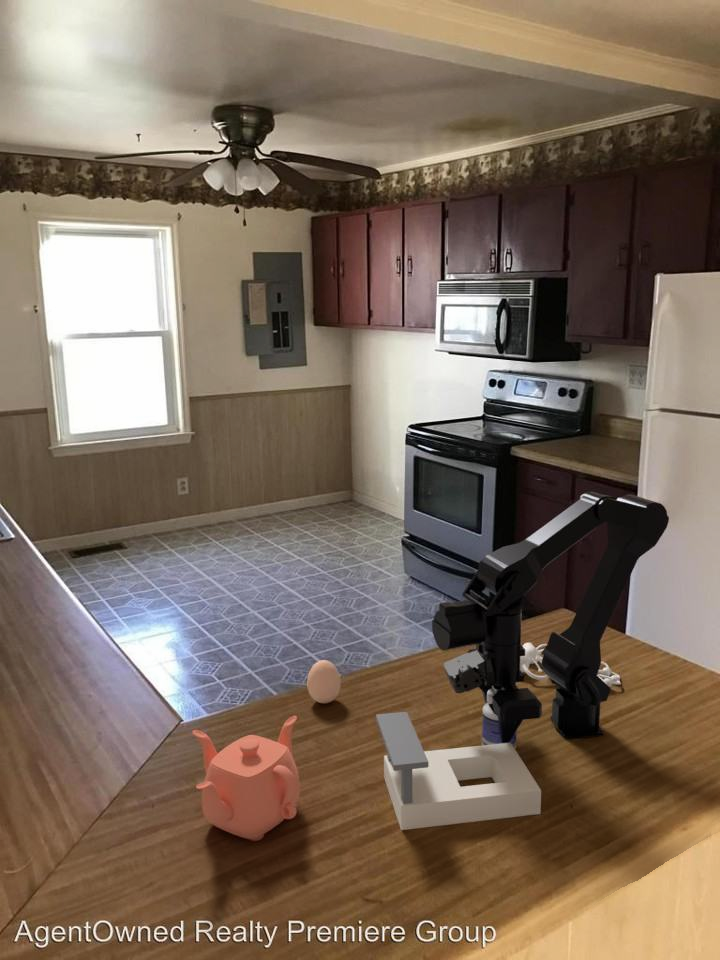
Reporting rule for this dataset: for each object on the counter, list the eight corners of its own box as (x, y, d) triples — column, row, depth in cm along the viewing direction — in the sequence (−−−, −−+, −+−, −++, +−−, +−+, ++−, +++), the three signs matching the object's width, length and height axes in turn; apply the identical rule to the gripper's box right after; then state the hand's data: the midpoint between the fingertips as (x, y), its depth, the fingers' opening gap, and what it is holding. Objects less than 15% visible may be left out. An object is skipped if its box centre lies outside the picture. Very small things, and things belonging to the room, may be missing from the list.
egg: (330, 713, 133) (329, 671, 131) (301, 705, 135) (299, 664, 134) (347, 698, 137) (346, 657, 136) (318, 691, 140) (317, 651, 139)
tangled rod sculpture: (629, 677, 147) (632, 656, 146) (610, 704, 134) (612, 681, 134) (529, 652, 156) (531, 633, 156) (502, 675, 144) (504, 654, 143)
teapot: (201, 863, 97) (195, 783, 95) (197, 795, 111) (191, 724, 108) (316, 842, 100) (313, 765, 98) (299, 779, 114) (296, 710, 112)
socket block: (508, 762, 117) (510, 701, 115) (541, 816, 105) (544, 749, 103) (376, 776, 114) (375, 714, 112) (394, 833, 102) (393, 765, 100)
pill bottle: (516, 757, 119) (517, 703, 117) (480, 753, 120) (481, 700, 118) (516, 738, 124) (517, 686, 122) (482, 735, 125) (483, 683, 123)
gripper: (433, 618, 126) (433, 708, 129) (467, 670, 108) (466, 772, 111) (500, 613, 127) (498, 702, 131) (544, 663, 109) (541, 764, 113)
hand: (499, 732), depth 121 cm, fingers closed on pill bottle, 5 cm apart
